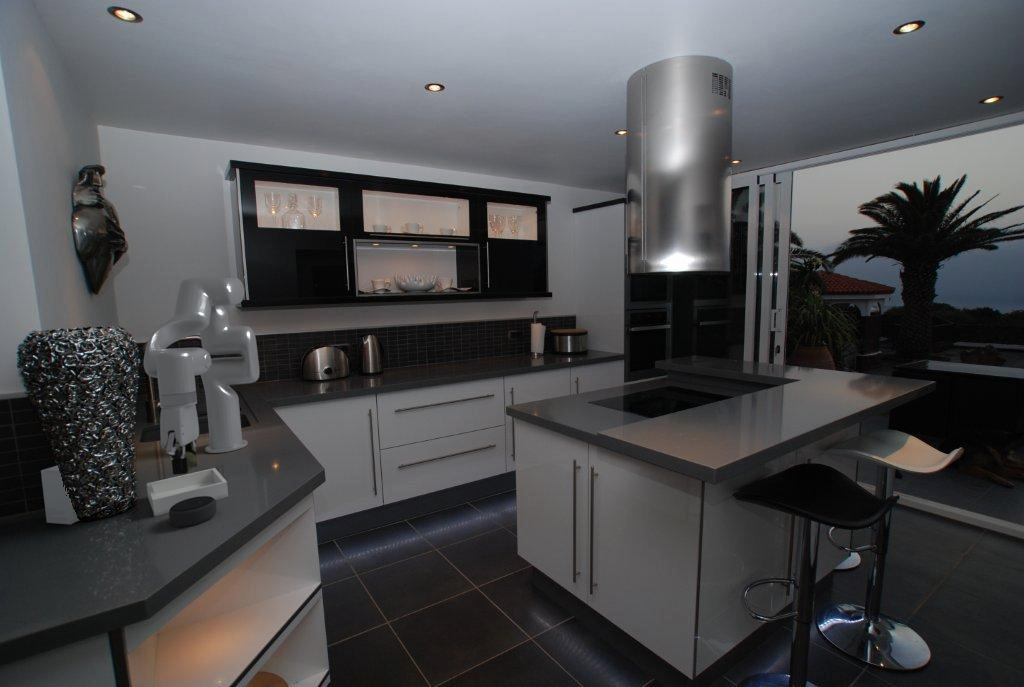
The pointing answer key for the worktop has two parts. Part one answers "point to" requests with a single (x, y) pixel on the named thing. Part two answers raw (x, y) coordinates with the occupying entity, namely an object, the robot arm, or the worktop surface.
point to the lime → (191, 460)
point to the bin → (185, 489)
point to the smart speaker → (192, 511)
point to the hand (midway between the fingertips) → (185, 469)
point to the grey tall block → (56, 498)
